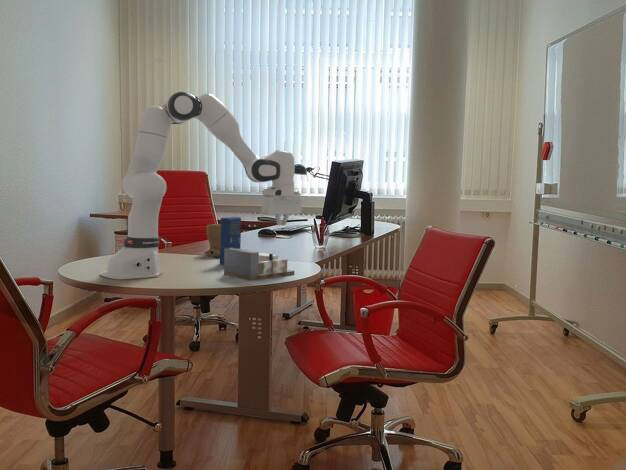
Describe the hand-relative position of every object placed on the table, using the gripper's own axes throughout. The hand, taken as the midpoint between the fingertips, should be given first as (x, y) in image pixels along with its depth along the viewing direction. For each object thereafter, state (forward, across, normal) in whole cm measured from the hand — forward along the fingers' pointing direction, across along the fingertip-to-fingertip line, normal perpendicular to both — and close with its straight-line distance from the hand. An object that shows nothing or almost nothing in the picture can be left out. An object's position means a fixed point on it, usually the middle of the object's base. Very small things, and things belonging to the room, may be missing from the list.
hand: (281, 225), depth 263 cm
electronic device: (+19, +3, -28) cm, 34 cm away
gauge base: (+19, +12, +1) cm, 23 cm away
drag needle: (+12, +12, +7) cm, 19 cm away
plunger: (+17, +9, +1) cm, 20 cm away
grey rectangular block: (+18, +22, 0) cm, 28 cm away
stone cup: (+19, -8, -50) cm, 54 cm away
